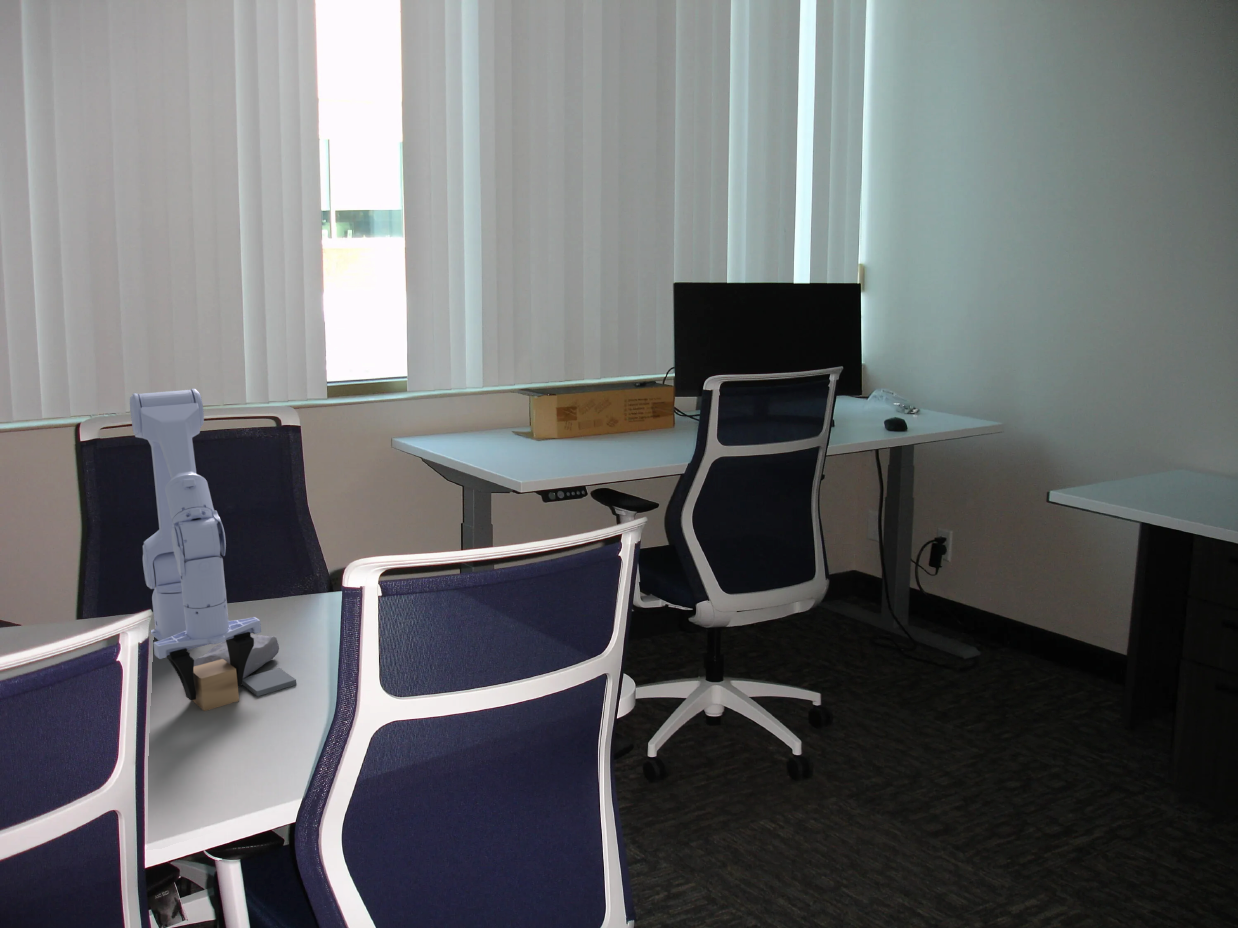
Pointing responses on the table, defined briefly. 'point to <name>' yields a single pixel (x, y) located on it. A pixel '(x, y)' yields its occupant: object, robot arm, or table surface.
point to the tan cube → (215, 684)
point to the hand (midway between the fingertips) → (214, 690)
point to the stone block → (258, 656)
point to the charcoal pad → (268, 681)
